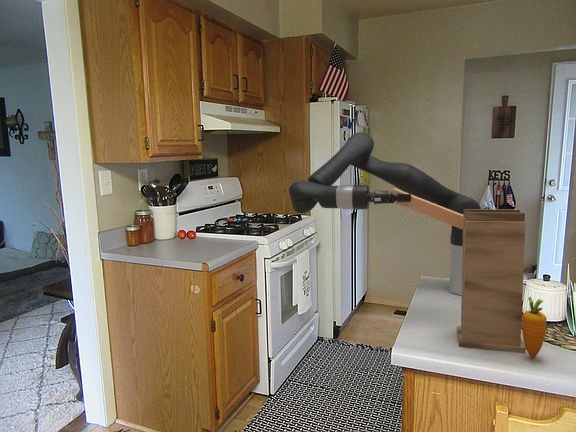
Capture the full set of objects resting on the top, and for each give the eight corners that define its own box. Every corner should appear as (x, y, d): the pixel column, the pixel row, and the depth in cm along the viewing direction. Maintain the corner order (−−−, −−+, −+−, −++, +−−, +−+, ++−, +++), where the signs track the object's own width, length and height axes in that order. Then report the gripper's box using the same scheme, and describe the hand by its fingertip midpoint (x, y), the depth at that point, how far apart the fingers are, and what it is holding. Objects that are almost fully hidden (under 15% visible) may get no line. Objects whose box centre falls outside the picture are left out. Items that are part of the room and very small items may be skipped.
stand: (456, 329, 119) (459, 208, 114) (517, 334, 114) (522, 208, 109) (459, 346, 109) (461, 214, 104) (525, 353, 104) (531, 214, 99)
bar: (390, 198, 129) (394, 188, 129) (461, 227, 124) (467, 216, 123) (389, 200, 126) (393, 189, 125) (462, 229, 121) (468, 218, 120)
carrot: (519, 352, 104) (521, 293, 102) (542, 355, 103) (545, 294, 100) (522, 361, 100) (524, 299, 98) (546, 364, 98) (549, 301, 96)
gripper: (348, 186, 124) (410, 186, 119) (356, 183, 137) (412, 182, 132) (348, 212, 125) (410, 213, 120) (356, 206, 138) (412, 206, 133)
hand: (410, 197), depth 126 cm, fingers closed on bar, 3 cm apart
